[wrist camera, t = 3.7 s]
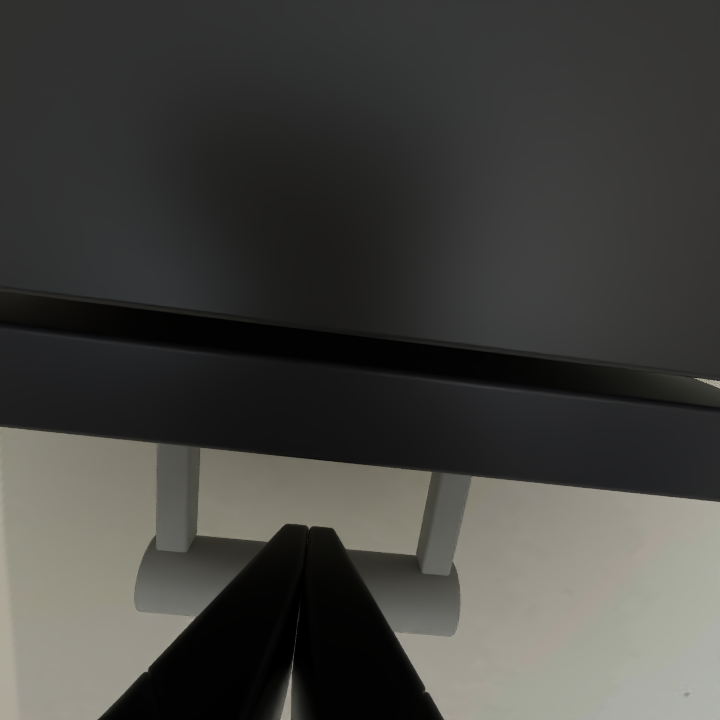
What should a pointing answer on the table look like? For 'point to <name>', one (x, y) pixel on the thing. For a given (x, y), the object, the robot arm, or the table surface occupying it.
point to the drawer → (342, 428)
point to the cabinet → (375, 169)
